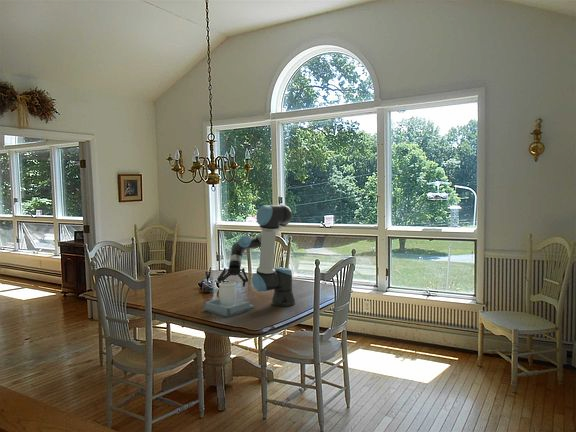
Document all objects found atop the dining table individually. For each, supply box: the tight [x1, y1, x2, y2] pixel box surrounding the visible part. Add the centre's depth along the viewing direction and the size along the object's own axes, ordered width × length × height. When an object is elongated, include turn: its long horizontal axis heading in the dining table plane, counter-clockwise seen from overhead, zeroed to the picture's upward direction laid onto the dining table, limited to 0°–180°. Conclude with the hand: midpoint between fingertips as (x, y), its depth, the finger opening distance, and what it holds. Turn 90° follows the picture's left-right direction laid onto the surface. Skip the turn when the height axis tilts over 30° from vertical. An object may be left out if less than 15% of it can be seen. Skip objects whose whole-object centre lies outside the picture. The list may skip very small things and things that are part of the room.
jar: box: [218, 281, 237, 307], centre depth 270 cm, size 11×10×15 cm
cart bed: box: [203, 297, 255, 318], centre depth 271 cm, size 22×23×5 cm
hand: (231, 290), depth 279 cm, fingers open, 13 cm apart
